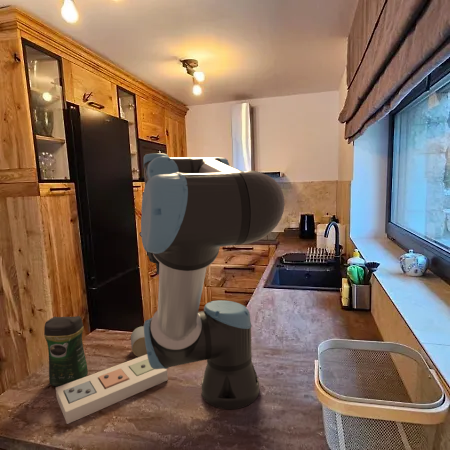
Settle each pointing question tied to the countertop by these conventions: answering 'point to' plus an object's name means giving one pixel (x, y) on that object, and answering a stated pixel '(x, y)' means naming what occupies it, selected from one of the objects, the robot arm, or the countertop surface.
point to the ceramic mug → (138, 342)
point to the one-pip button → (141, 367)
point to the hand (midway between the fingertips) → (164, 283)
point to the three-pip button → (79, 392)
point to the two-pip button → (112, 378)
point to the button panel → (108, 390)
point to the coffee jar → (65, 350)
